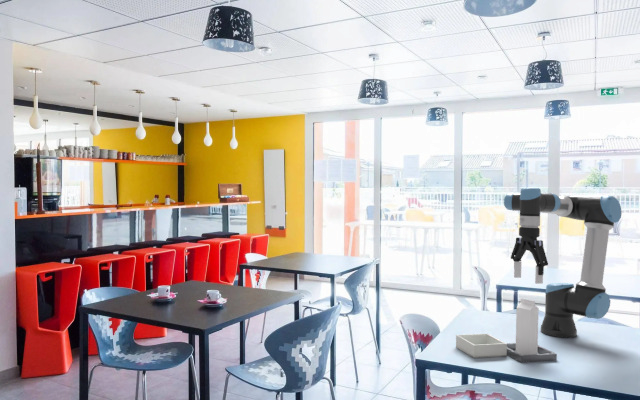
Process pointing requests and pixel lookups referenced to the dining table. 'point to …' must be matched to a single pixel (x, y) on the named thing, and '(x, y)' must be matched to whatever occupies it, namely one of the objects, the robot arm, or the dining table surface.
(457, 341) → the bin
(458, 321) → the dining table surface
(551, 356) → the collar
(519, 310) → the milk
